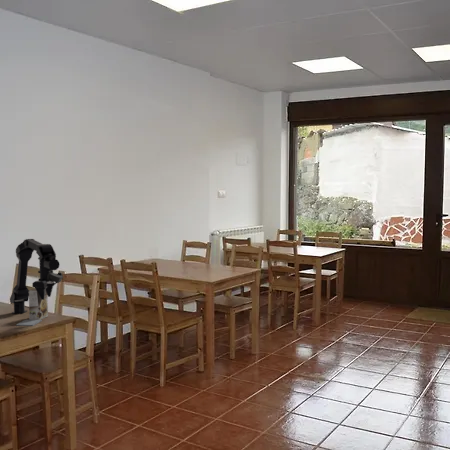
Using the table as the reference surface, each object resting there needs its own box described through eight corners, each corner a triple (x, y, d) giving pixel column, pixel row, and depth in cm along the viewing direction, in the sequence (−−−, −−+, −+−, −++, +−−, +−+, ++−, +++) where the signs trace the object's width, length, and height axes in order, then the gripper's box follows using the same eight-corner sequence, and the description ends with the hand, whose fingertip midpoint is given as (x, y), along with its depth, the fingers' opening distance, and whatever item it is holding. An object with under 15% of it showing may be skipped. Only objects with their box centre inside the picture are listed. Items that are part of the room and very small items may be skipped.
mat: (25, 320, 289) (25, 319, 289) (42, 320, 288) (42, 319, 288) (16, 325, 278) (16, 324, 278) (32, 325, 277) (32, 324, 277)
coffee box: (39, 320, 290) (39, 290, 289) (28, 319, 291) (28, 290, 290) (48, 316, 299) (47, 287, 298) (38, 315, 300) (37, 287, 299)
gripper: (52, 271, 272) (53, 301, 273) (67, 266, 291) (67, 294, 292) (31, 271, 273) (32, 301, 274) (47, 266, 292) (48, 294, 293)
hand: (46, 298), depth 283 cm, fingers open, 7 cm apart
